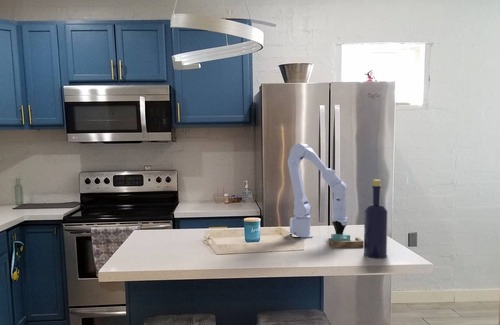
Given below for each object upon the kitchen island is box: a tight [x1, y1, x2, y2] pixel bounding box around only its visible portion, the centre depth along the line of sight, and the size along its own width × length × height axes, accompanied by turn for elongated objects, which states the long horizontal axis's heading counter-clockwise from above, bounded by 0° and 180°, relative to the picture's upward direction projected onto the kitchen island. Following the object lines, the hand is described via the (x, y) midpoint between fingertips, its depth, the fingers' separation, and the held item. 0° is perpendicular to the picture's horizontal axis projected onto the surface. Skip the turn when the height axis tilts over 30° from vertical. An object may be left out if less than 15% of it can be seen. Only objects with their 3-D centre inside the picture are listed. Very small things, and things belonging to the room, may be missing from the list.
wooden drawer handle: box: [328, 237, 364, 249], centre depth 160 cm, size 13×6×2 cm, turn 95°
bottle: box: [363, 179, 389, 259], centre depth 146 cm, size 9×9×30 cm
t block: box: [330, 233, 351, 241], centre depth 164 cm, size 8×8×3 cm
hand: (339, 237), depth 169 cm, fingers closed
